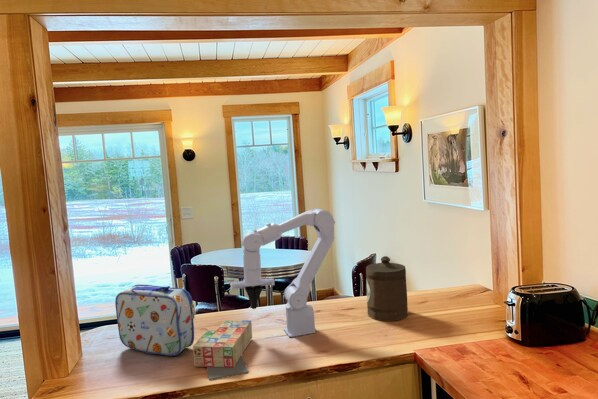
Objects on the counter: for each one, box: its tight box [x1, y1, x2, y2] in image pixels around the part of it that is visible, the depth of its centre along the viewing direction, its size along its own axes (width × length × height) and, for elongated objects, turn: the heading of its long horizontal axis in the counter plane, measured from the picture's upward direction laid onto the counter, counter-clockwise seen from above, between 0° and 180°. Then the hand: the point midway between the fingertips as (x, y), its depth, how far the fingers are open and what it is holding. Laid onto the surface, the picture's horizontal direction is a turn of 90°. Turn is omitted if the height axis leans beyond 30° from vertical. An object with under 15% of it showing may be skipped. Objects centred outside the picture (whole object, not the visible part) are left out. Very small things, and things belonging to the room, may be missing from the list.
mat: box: [206, 355, 250, 381], centre depth 135 cm, size 11×24×1 cm, turn 17°
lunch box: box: [114, 284, 197, 357], centre depth 144 cm, size 28×10×22 cm, turn 68°
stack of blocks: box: [192, 319, 253, 368], centre depth 139 cm, size 21×6×12 cm
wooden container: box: [365, 255, 409, 322], centre depth 165 cm, size 15×15×22 cm
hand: (253, 307), depth 149 cm, fingers closed
